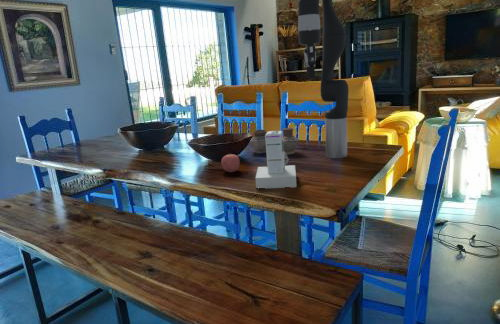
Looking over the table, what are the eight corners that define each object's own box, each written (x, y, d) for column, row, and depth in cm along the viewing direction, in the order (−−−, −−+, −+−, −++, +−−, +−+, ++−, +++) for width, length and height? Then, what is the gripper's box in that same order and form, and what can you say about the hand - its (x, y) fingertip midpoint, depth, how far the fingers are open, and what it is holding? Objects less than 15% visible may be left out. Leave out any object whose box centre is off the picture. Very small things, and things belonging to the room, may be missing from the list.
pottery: (295, 156, 169) (294, 130, 166) (246, 154, 180) (244, 130, 177) (302, 150, 179) (301, 126, 176) (255, 149, 190) (254, 126, 187)
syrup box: (283, 173, 131) (281, 133, 127) (267, 173, 132) (264, 134, 128) (285, 169, 136) (283, 130, 132) (269, 169, 137) (266, 130, 133)
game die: (276, 176, 153) (266, 156, 156) (294, 168, 153) (284, 147, 156) (274, 172, 145) (263, 150, 147) (293, 163, 144) (282, 141, 147)
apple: (233, 175, 147) (232, 155, 145) (219, 173, 151) (217, 154, 149) (243, 170, 153) (242, 151, 151) (229, 168, 157) (227, 150, 155)
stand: (258, 176, 142) (258, 166, 141) (295, 175, 141) (294, 165, 140) (256, 188, 129) (255, 177, 128) (296, 187, 128) (295, 176, 127)
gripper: (297, 32, 134) (299, 77, 138) (299, 28, 120) (301, 79, 125) (318, 30, 133) (319, 76, 137) (322, 26, 120) (323, 77, 124)
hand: (310, 77), depth 131 cm, fingers open, 8 cm apart
